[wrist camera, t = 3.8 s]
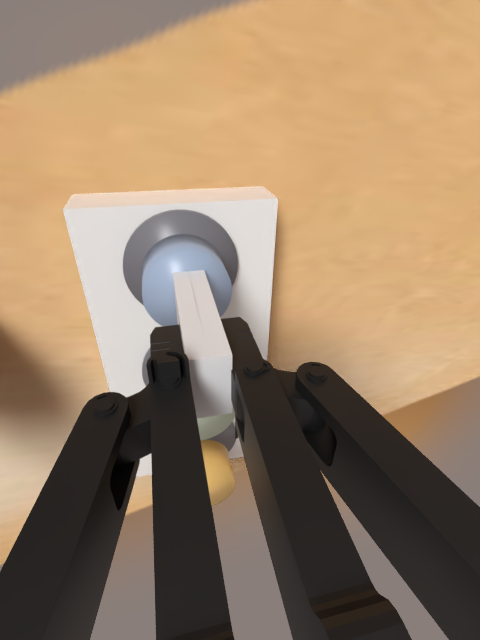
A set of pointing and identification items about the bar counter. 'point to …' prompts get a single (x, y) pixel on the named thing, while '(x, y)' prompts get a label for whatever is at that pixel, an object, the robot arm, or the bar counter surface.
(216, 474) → the button amber
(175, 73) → the bar counter surface
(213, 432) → the button sage
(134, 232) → the button panel
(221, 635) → the robot arm
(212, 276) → the button slate
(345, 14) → the bar counter surface
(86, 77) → the bar counter surface
